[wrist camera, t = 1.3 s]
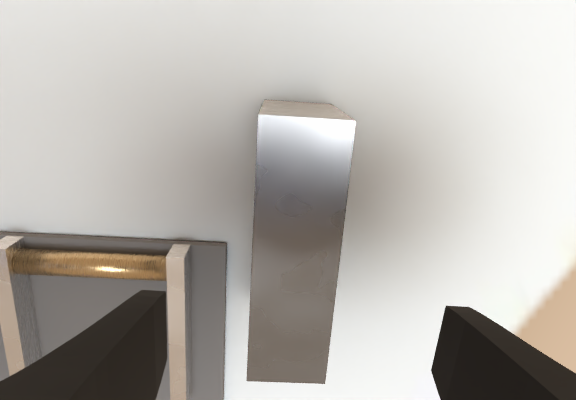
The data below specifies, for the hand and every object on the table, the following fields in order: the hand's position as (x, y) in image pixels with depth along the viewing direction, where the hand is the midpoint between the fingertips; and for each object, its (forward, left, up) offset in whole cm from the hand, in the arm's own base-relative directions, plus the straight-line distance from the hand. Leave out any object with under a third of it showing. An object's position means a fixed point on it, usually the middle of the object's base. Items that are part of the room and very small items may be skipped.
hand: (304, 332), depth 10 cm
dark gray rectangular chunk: (0, 0, -10) cm, 10 cm away
